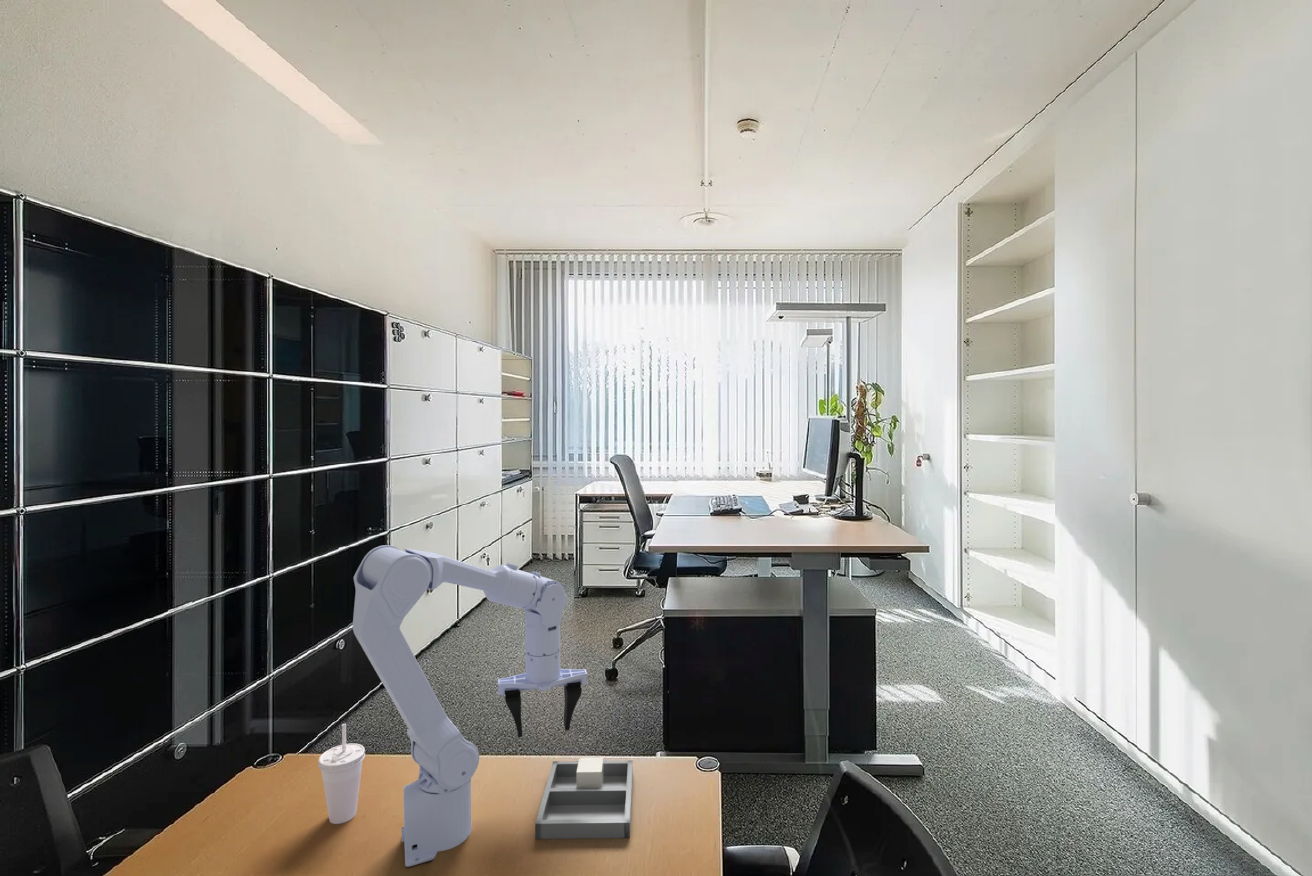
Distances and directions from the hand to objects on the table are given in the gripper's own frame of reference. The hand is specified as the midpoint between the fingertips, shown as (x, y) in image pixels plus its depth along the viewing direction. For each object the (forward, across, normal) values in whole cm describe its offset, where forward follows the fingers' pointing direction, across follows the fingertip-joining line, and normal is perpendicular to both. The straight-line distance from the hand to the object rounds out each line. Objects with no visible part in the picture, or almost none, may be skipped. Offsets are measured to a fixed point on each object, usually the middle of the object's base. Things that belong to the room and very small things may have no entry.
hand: (543, 731), depth 97 cm
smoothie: (+10, -31, +1) cm, 32 cm away
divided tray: (+9, +6, -8) cm, 14 cm away
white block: (+9, +7, -4) cm, 12 cm away
